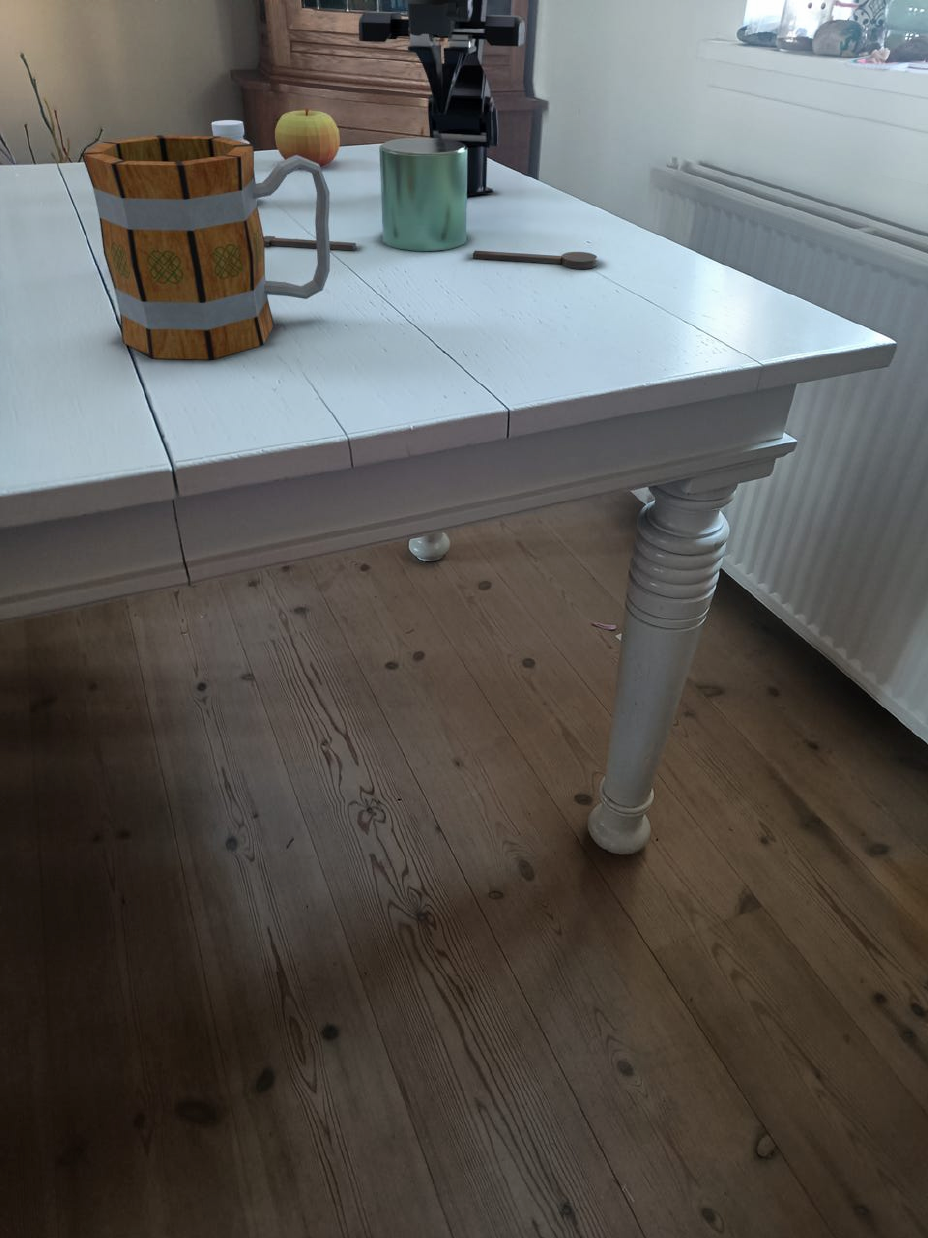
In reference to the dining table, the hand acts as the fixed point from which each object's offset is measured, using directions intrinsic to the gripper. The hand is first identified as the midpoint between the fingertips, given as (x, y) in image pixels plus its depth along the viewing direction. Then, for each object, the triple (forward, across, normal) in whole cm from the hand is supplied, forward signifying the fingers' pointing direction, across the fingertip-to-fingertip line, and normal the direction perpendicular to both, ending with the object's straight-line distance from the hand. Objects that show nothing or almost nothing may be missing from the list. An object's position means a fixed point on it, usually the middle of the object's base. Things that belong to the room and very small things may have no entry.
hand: (441, 113), depth 109 cm
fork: (+12, -14, -17) cm, 25 cm away
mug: (+13, -11, -45) cm, 48 cm away
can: (+12, 0, -11) cm, 16 cm away
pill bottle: (+12, -28, +1) cm, 31 cm away
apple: (+11, -27, +28) cm, 40 cm away
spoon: (+12, +14, -17) cm, 25 cm away
